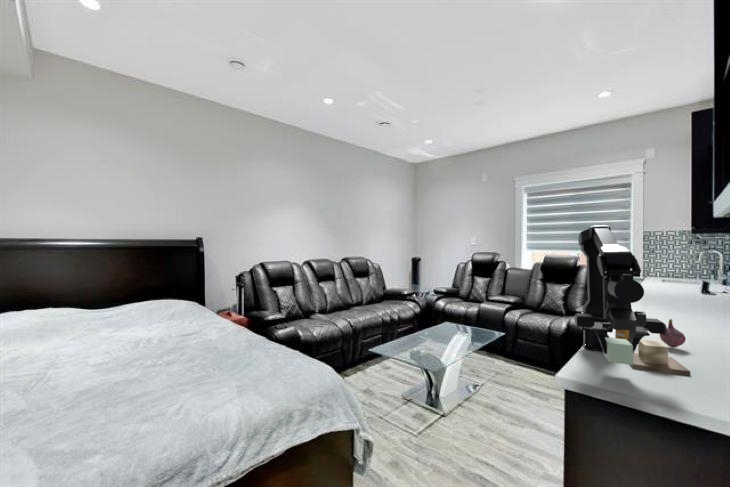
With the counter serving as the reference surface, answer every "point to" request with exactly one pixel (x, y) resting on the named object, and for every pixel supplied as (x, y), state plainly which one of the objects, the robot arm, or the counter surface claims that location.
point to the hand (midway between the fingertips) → (617, 355)
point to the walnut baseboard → (660, 366)
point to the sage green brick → (619, 351)
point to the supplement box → (622, 334)
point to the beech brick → (653, 352)
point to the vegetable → (673, 336)
